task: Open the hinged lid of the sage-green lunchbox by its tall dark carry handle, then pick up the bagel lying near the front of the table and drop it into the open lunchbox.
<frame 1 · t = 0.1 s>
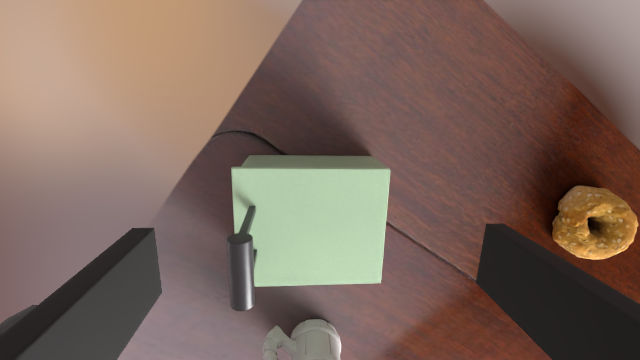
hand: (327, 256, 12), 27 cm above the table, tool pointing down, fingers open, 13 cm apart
mug: (301, 332, 46), on the table
lunchbox: (311, 206, 41), on the table
lunchbox lid: (314, 247, 29), point 12 cm above the table, hinge at 0.0°
bagel: (577, 216, 45), on the table
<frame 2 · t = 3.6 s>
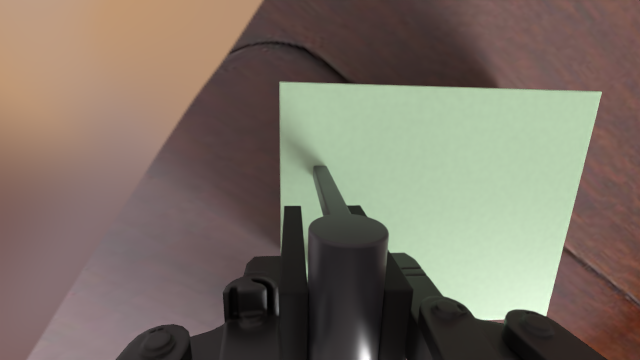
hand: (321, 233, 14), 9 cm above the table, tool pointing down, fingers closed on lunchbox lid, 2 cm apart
lunchbox lid: (475, 254, 13), point 12 cm above the table, hinge at 0.0°, touching gripper
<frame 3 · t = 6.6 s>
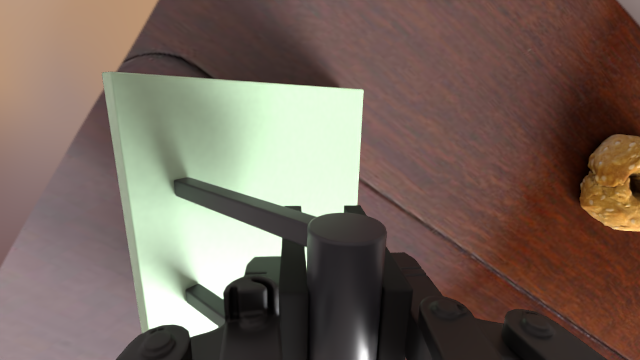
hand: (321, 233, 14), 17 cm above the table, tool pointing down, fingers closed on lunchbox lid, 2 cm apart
lunchbox lid: (345, 223, 16), point 16 cm above the table, hinge at 47.6°, touching gripper
bagel: (611, 178, 35), on the table
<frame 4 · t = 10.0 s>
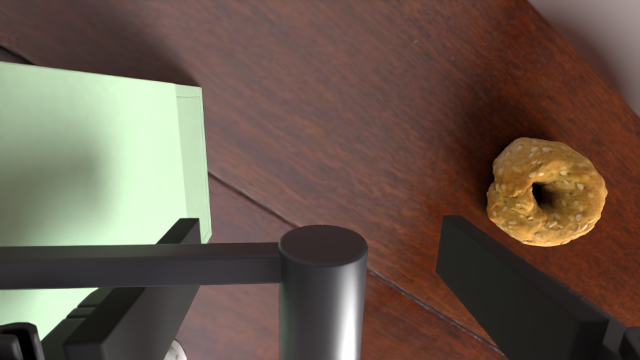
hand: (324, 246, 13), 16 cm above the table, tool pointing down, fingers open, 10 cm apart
mug: (134, 351, 32), on the table
lunchbox: (115, 165, 27), on the table
lunchbox lid: (218, 241, 13), point 15 cm above the table, hinge at 89.7°, touching gripper
bagel: (523, 186, 31), on the table
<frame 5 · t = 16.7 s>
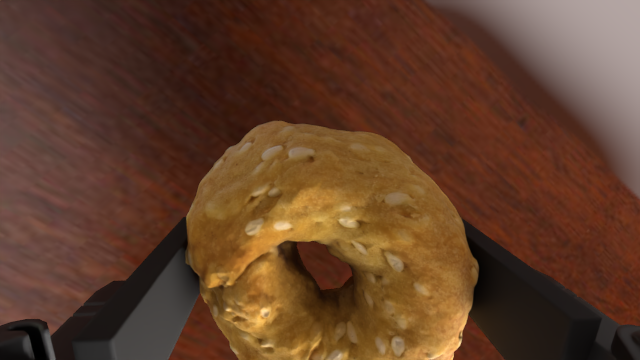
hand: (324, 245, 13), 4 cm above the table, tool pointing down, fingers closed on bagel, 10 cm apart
bagel: (321, 236, 14), point 3 cm above the table, touching gripper
when the fingers open (20 cm above the table, at t = 23.6 s): bagel drops 3 cm, point 17 cm above the table.
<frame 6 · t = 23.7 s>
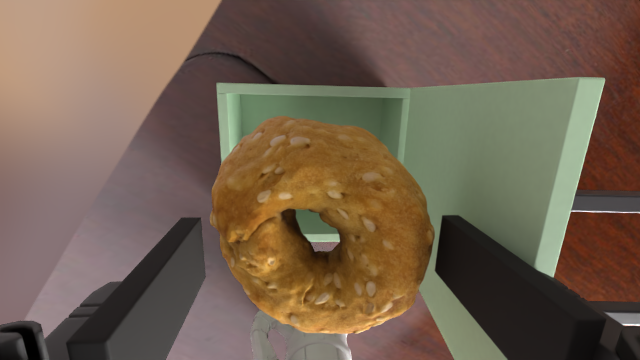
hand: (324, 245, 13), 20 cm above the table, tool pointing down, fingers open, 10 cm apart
mug: (300, 312, 38), on the table
lunchbox: (311, 154, 33), on the table
lunchbox lid: (519, 206, 18), point 16 cm above the table, hinge at 86.0°, touching gripper
bagel: (316, 210, 17), point 17 cm above the table
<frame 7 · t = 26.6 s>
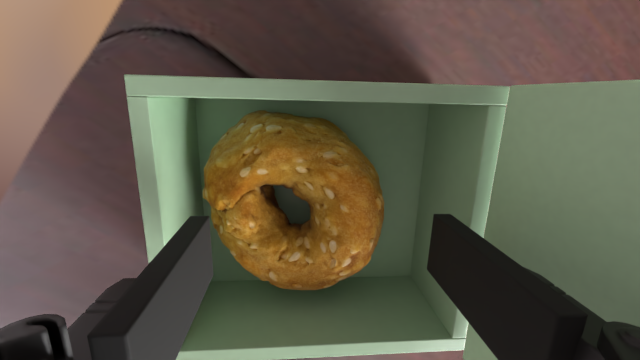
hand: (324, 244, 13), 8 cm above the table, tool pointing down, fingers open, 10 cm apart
lunchbox: (313, 192, 21), on the table
bagel: (293, 190, 20), point 1 cm above the table, touching lunchbox
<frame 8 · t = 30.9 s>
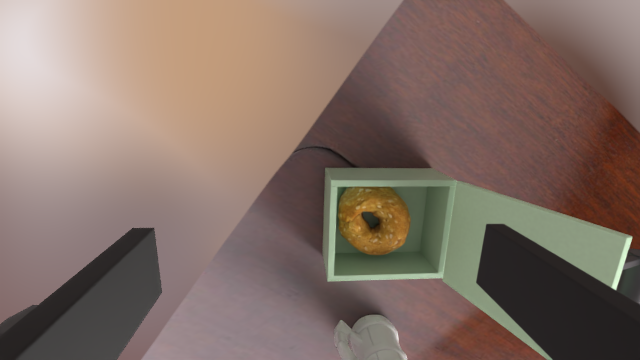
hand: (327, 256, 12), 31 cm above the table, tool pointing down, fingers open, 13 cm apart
mug: (361, 326, 51), on the table
lunchbox: (376, 212, 45), on the table
lunchbox lid: (539, 257, 33), point 14 cm above the table, hinge at 106.2°
bagel: (368, 212, 45), point 1 cm above the table, touching lunchbox
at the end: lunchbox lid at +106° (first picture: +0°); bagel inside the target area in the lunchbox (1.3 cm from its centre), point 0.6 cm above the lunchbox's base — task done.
